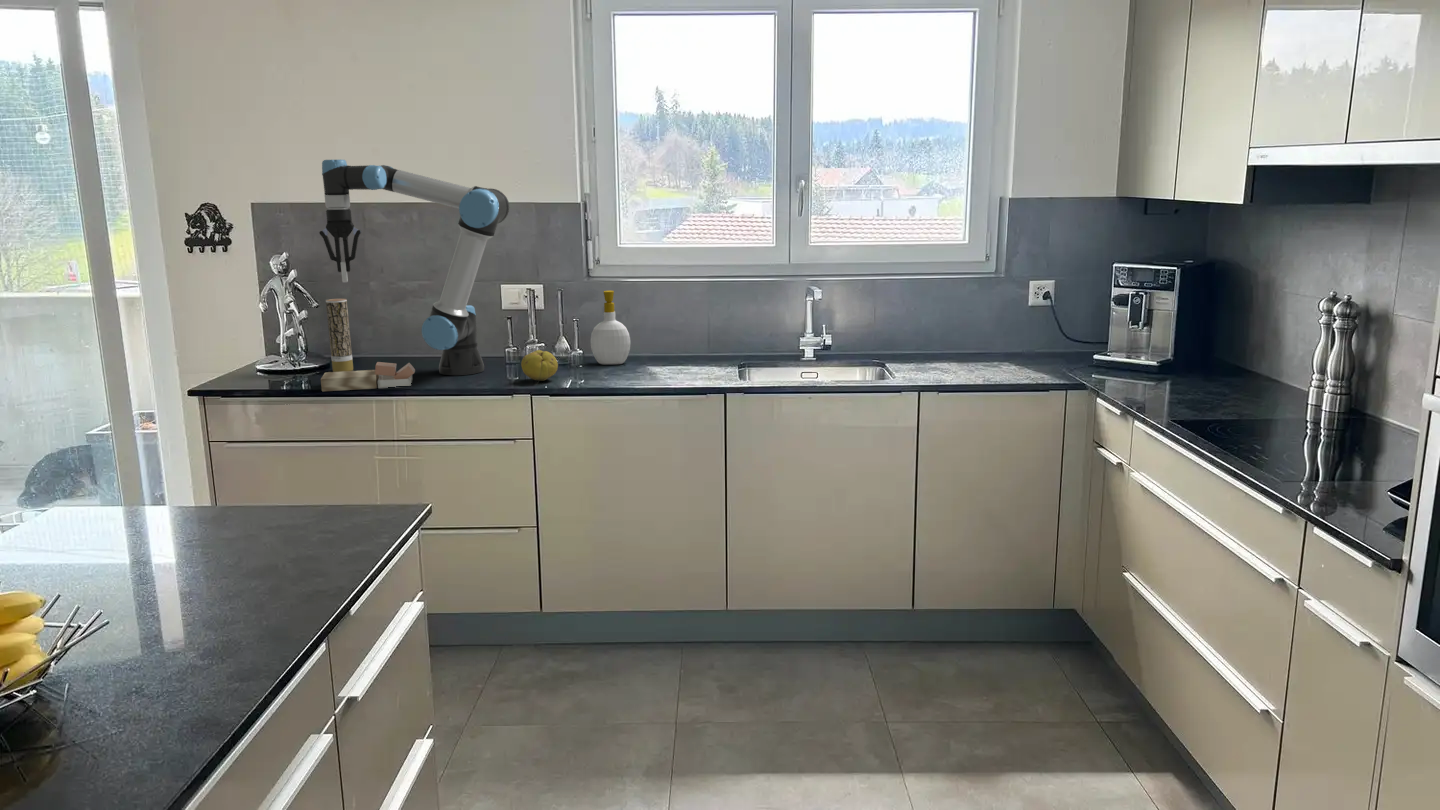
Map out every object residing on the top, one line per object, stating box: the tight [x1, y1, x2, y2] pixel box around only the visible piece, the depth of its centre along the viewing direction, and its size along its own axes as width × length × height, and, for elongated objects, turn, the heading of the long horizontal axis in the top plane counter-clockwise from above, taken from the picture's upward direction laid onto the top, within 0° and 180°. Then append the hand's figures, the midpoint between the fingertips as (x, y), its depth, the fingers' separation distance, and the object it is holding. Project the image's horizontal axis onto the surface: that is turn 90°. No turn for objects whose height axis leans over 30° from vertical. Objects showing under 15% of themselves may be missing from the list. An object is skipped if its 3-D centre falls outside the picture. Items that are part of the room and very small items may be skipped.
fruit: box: [520, 349, 559, 382], centre depth 329 cm, size 11×12×10 cm
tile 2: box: [394, 362, 416, 379], centre depth 328 cm, size 6×6×3 cm
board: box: [320, 369, 380, 392], centre depth 324 cm, size 16×11×4 cm, turn 104°
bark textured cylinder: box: [325, 298, 354, 372], centre depth 346 cm, size 7×7×25 cm
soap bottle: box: [589, 290, 631, 366], centre depth 356 cm, size 14×9×26 cm, turn 88°
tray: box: [377, 374, 413, 389], centre depth 327 cm, size 10×12×2 cm
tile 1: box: [374, 361, 397, 376], centre depth 326 cm, size 6×6×3 cm
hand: (345, 281), depth 329 cm, fingers closed
